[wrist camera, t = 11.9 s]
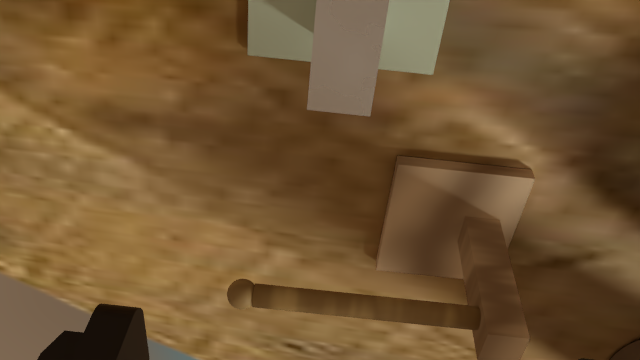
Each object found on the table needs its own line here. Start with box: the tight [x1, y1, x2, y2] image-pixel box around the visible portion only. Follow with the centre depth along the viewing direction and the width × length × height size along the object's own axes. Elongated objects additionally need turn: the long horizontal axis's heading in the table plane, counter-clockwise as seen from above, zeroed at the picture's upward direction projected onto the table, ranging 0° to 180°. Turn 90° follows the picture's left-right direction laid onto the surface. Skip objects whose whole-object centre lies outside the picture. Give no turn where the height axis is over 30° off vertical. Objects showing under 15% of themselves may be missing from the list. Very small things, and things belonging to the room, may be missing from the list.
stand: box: [227, 156, 535, 360], centre depth 39 cm, size 19×10×11 cm, turn 85°
